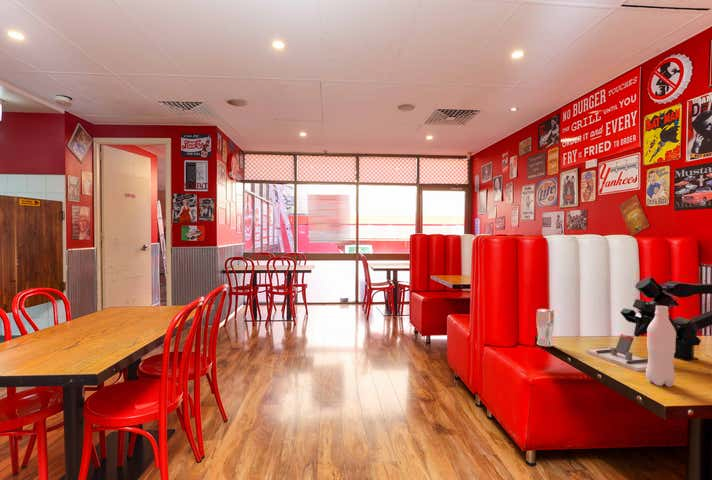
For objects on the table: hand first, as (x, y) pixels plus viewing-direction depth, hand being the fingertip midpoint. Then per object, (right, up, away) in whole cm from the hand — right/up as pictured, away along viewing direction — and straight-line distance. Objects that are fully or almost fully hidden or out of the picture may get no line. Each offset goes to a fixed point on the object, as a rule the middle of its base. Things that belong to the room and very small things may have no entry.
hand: (635, 335), depth 139 cm
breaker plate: (-7, -9, -2) cm, 12 cm away
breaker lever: (-7, -6, -2) cm, 10 cm away
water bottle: (-11, -9, -24) cm, 28 cm away
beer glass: (-27, -9, +16) cm, 32 cm away
